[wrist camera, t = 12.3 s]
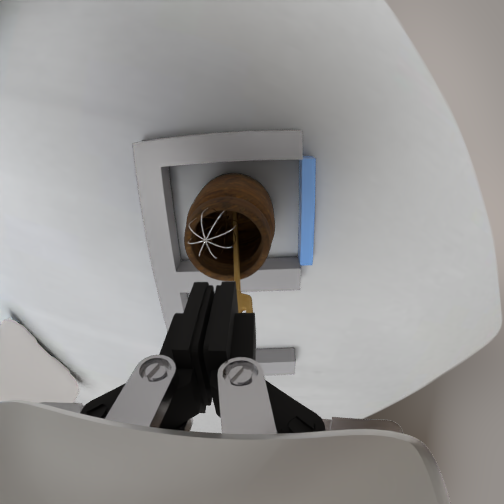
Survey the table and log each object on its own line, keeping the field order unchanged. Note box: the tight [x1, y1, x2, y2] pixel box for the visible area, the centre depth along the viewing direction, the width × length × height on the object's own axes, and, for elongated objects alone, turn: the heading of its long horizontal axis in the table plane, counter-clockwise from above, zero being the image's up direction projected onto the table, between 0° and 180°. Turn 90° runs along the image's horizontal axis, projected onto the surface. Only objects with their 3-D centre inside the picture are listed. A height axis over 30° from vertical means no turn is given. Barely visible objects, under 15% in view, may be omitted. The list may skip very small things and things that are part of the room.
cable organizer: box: [0, 319, 79, 403], centre depth 28 cm, size 15×11×12 cm
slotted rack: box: [133, 130, 316, 376], centre depth 25 cm, size 23×13×2 cm, turn 2°
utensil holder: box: [184, 173, 275, 313], centre depth 18 cm, size 6×6×12 cm
